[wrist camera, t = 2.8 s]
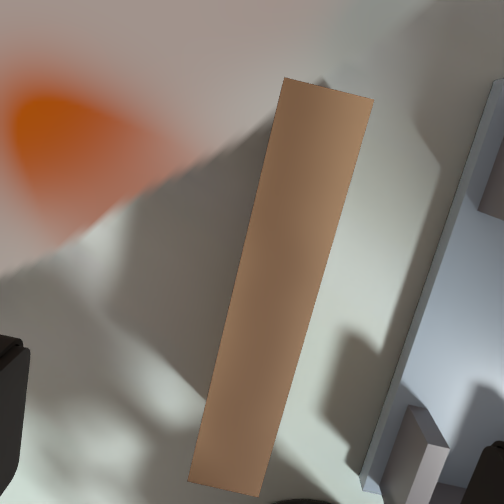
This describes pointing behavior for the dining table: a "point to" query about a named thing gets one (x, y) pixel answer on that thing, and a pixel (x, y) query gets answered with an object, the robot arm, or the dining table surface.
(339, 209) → the slat
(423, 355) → the cradle
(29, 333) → the dining table surface
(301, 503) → the french press
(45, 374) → the dining table surface
